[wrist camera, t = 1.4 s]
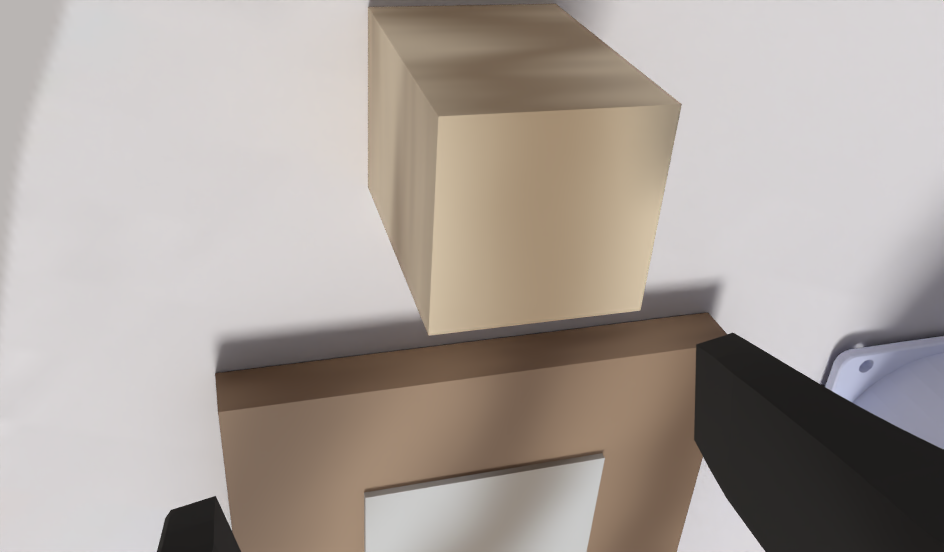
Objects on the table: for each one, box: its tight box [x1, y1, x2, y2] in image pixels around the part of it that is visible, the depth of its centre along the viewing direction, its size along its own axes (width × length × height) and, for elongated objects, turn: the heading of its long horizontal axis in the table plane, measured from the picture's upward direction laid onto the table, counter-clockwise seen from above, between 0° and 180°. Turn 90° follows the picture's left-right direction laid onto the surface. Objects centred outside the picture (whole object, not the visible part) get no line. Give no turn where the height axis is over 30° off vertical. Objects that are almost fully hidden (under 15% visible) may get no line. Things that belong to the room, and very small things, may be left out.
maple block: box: [368, 4, 682, 336], centre depth 18 cm, size 4×4×6 cm
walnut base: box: [215, 313, 727, 552], centre depth 27 cm, size 14×14×2 cm
